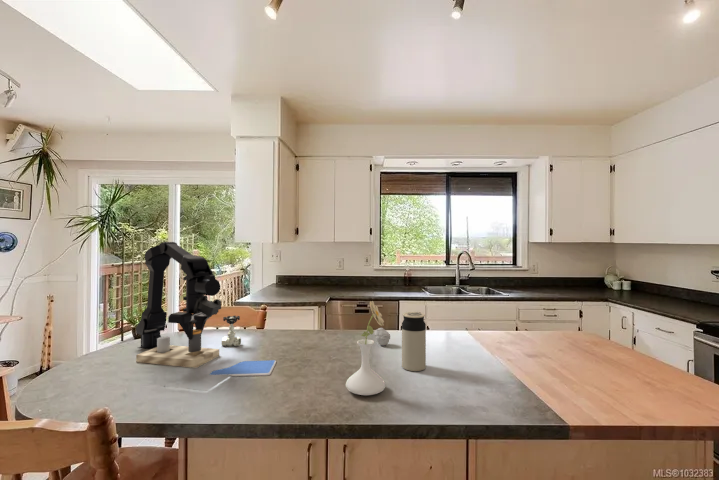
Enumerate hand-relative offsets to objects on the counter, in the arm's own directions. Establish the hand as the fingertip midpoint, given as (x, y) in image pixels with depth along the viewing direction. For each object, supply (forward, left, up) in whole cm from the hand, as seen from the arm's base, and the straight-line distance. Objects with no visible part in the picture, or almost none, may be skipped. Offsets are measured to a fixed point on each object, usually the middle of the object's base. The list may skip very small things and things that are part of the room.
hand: (194, 337), depth 117 cm
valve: (+3, +18, -9) cm, 20 cm away
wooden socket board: (-6, 0, -8) cm, 11 cm away
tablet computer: (+21, -2, -9) cm, 23 cm away
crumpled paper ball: (+62, +34, -9) cm, 71 cm away
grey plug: (-13, 0, -8) cm, 15 cm away
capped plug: (0, 0, -4) cm, 4 cm away
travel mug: (+76, +12, -9) cm, 77 cm away
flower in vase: (+64, -8, -9) cm, 65 cm away
